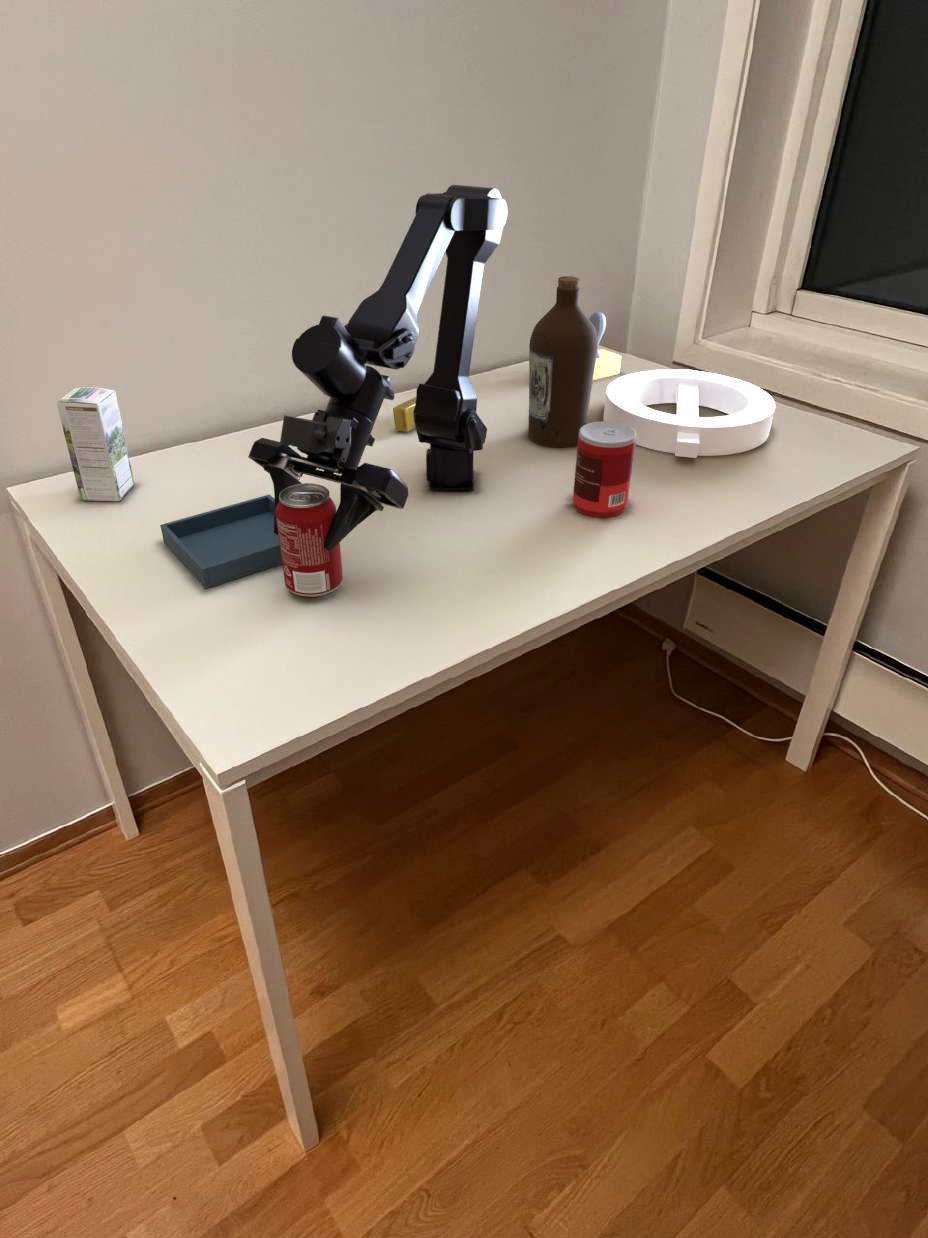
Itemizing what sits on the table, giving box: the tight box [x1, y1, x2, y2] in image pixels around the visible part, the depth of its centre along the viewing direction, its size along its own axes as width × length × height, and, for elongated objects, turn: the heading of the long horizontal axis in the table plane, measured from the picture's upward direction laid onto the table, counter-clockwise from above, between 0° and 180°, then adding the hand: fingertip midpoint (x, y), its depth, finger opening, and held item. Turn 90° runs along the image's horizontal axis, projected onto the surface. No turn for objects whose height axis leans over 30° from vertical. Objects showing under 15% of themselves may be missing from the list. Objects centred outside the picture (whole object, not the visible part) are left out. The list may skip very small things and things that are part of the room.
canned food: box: [572, 420, 637, 518], centre depth 116 cm, size 8×8×11 cm
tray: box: [159, 494, 282, 590], centre depth 107 cm, size 15×14×3 cm
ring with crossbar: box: [602, 368, 776, 459], centre depth 144 cm, size 28×28×5 cm
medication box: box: [392, 396, 416, 432], centre depth 143 cm, size 12×3×4 cm, turn 149°
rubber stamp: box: [588, 311, 622, 381], centre depth 162 cm, size 10×6×12 cm, turn 126°
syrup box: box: [56, 386, 135, 502], centre depth 116 cm, size 6×6×14 cm
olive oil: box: [527, 275, 599, 448], centre depth 132 cm, size 11×11×25 cm
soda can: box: [275, 482, 344, 598], centre depth 96 cm, size 7×7×12 cm
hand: (301, 542), depth 95 cm, fingers closed on soda can, 7 cm apart
